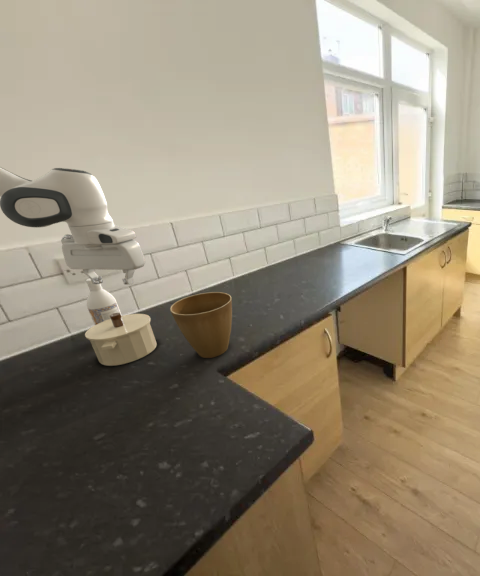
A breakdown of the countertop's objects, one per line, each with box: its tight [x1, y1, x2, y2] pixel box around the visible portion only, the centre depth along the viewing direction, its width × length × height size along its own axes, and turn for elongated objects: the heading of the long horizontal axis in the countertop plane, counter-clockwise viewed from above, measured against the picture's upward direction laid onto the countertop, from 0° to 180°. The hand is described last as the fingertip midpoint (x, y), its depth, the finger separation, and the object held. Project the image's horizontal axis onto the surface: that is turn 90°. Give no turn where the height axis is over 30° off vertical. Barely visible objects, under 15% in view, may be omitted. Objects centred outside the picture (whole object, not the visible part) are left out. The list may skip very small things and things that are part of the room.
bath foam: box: [85, 277, 123, 326], centre depth 99 cm, size 7×7×20 cm
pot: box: [89, 322, 158, 367], centre depth 92 cm, size 14×19×8 cm
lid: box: [84, 313, 152, 341], centre depth 90 cm, size 15×15×5 cm
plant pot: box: [169, 291, 233, 359], centre depth 90 cm, size 15×15×16 cm
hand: (113, 283), depth 88 cm, fingers open, 8 cm apart
